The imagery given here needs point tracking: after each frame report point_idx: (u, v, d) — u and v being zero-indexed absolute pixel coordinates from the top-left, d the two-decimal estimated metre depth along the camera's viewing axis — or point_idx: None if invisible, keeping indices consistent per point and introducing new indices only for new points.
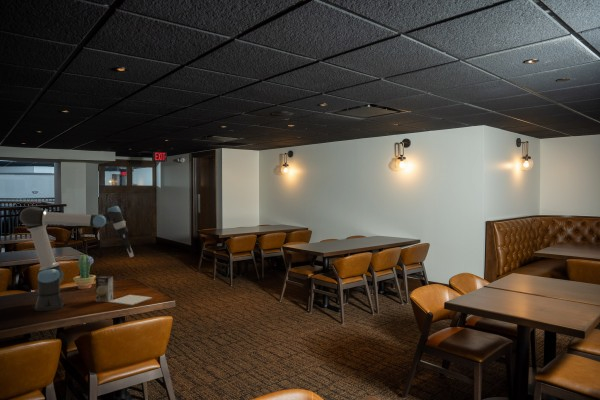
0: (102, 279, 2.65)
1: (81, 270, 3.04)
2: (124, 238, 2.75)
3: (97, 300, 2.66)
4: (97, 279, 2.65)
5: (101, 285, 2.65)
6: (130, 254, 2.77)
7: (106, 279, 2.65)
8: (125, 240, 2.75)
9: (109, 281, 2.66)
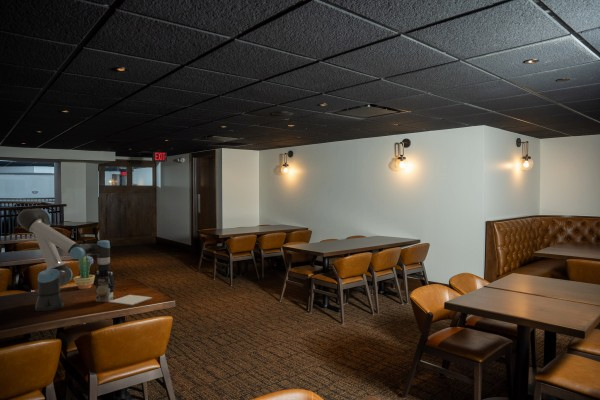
0: (102, 279, 2.65)
1: (81, 270, 3.04)
2: (111, 276, 2.65)
3: (97, 300, 2.66)
4: (97, 279, 2.65)
5: (101, 285, 2.65)
6: (110, 294, 2.66)
7: (106, 279, 2.65)
8: (112, 278, 2.65)
9: None
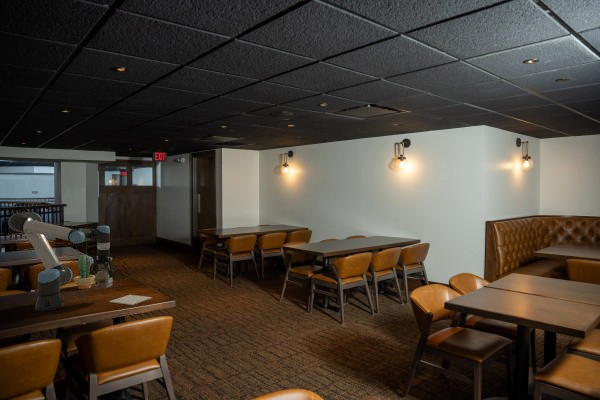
0: (101, 264, 2.65)
1: (81, 270, 3.04)
2: (111, 261, 2.65)
3: (96, 285, 2.65)
4: (96, 264, 2.65)
5: (101, 270, 2.65)
6: (109, 279, 2.66)
7: (105, 264, 2.64)
8: (111, 263, 2.65)
9: (108, 266, 2.66)
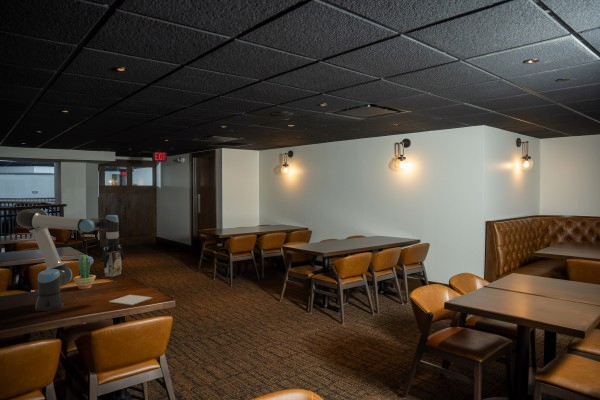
0: (117, 252, 2.69)
1: (81, 270, 3.04)
2: None
3: (114, 274, 2.66)
4: (114, 253, 2.66)
5: (117, 259, 2.69)
6: None
7: (120, 252, 2.72)
8: None
9: None
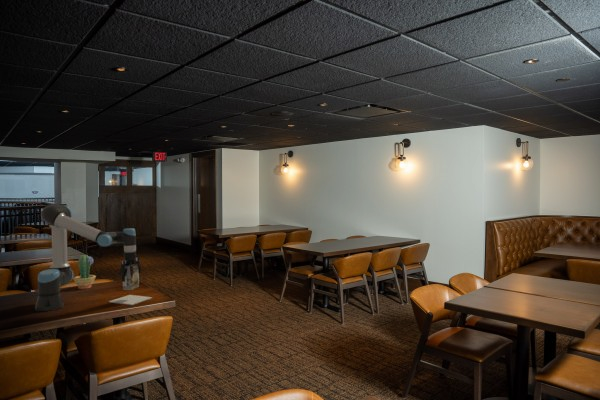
0: (135, 266, 2.69)
1: (81, 270, 3.04)
2: None
3: (133, 288, 2.65)
4: (132, 267, 2.65)
5: (135, 272, 2.68)
6: None
7: (137, 265, 2.72)
8: None
9: None
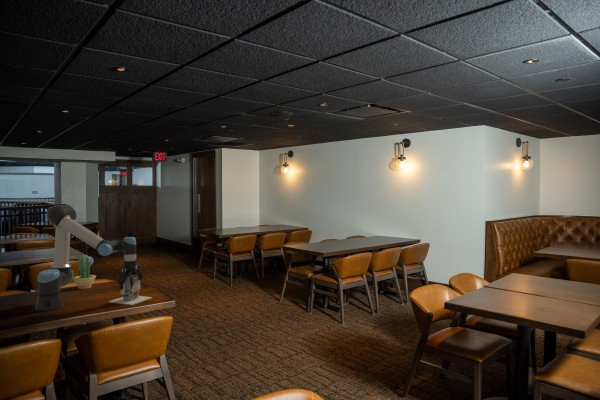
0: (135, 276, 2.69)
1: (81, 270, 3.04)
2: None
3: (132, 299, 2.66)
4: (132, 278, 2.66)
5: (135, 283, 2.69)
6: None
7: (137, 276, 2.72)
8: None
9: None
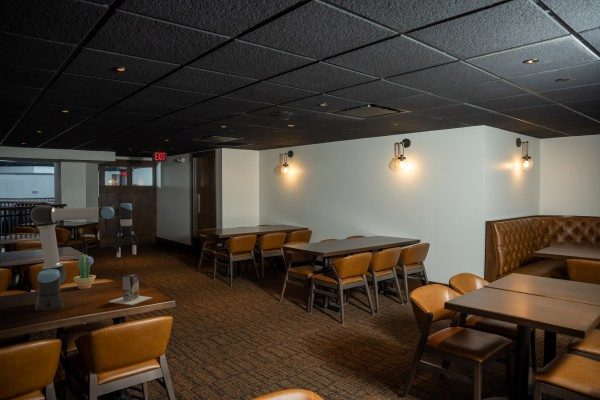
0: (135, 276, 2.69)
1: (81, 270, 3.04)
2: None
3: (132, 299, 2.66)
4: (132, 278, 2.66)
5: (135, 283, 2.69)
6: None
7: (137, 276, 2.72)
8: None
9: None
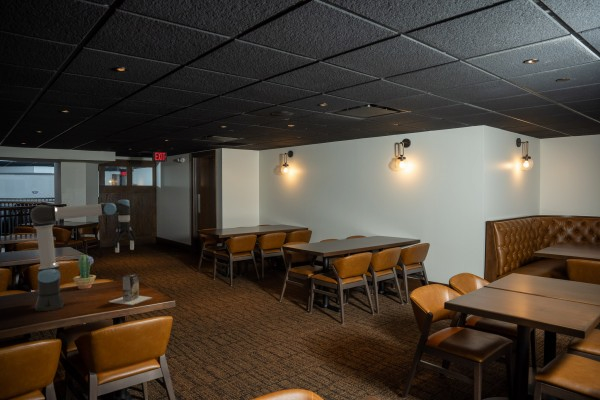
0: (135, 276, 2.69)
1: (81, 270, 3.04)
2: None
3: (132, 299, 2.66)
4: (132, 278, 2.66)
5: (135, 283, 2.69)
6: None
7: (137, 276, 2.72)
8: None
9: None
